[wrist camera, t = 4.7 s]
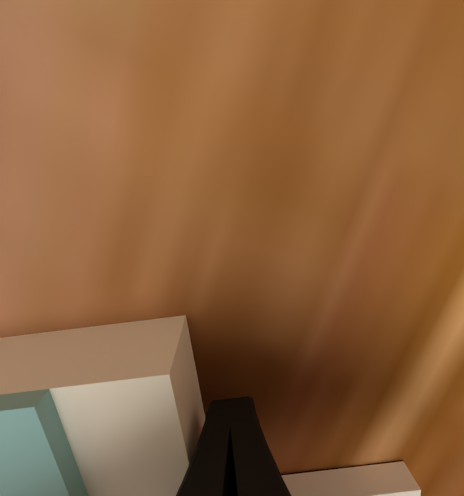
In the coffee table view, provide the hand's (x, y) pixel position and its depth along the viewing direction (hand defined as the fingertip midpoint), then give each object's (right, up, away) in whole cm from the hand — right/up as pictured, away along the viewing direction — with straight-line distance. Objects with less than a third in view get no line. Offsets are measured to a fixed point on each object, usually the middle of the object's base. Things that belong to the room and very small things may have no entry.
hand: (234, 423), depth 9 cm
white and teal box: (-5, 0, +1) cm, 5 cm away
